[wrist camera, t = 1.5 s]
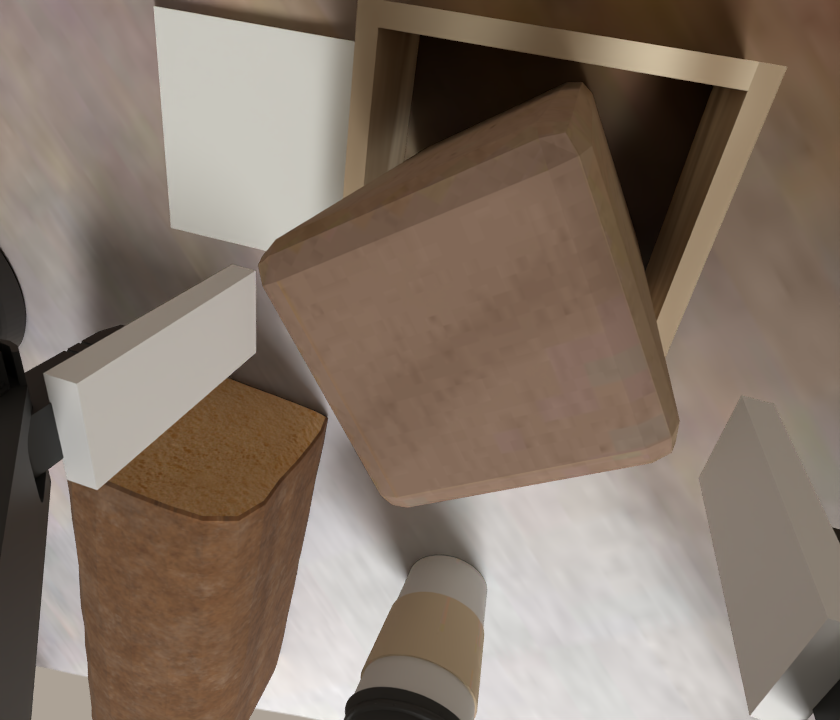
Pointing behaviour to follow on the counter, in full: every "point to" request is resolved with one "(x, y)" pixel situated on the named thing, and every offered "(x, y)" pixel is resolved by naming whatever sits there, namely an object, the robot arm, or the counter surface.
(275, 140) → the grey mat
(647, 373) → the wooden block
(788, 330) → the counter surface
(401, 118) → the birch frame
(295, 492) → the bread
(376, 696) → the coffee cup
